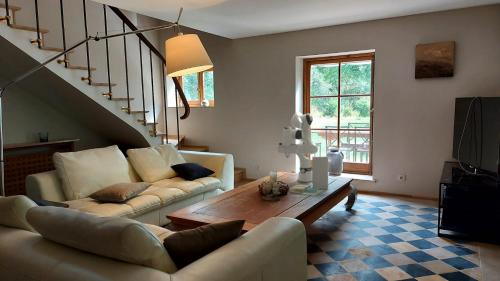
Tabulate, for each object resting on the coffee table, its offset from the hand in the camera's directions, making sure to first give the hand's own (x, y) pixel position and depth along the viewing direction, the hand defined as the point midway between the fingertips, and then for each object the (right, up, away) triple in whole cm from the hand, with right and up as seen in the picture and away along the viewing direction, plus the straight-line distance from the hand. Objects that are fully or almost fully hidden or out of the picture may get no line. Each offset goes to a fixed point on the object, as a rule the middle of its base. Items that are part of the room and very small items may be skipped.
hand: (287, 157), depth 336 cm
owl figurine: (-18, -34, -38) cm, 54 cm away
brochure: (+31, -29, -5) cm, 43 cm away
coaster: (+20, -30, -19) cm, 41 cm away
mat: (+21, -31, -20) cm, 42 cm away
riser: (+10, -30, -12) cm, 34 cm away
